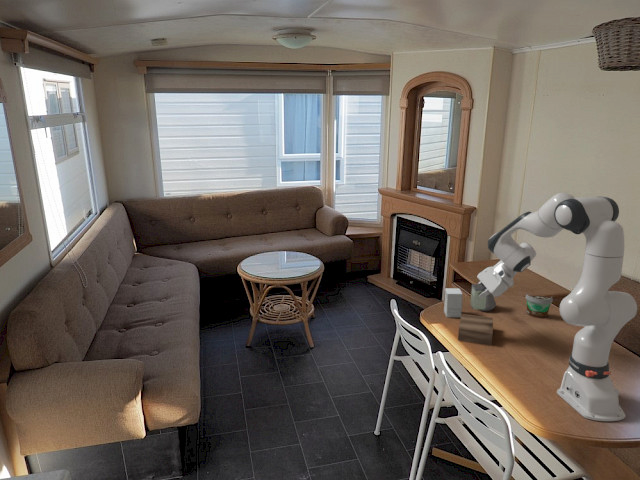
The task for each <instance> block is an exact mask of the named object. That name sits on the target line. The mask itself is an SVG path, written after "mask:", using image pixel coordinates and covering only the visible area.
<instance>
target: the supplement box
mask: <svg viewBox="0 0 640 480" xmlns="http://www.w3.org/2000/svg"><path fill="white" fill-rule="evenodd" d="M463 295H464V294H463V292H462V289H460V288H456V287H454V288H452V287H451V288H450V287H449V288H446V287H445V289H444V304H443V305H444V307H443V313H444V315H445V317H446V318H461V314H462V312H463V311H462V310H463V308H462V307H463Z"/></svg>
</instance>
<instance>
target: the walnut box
mask: <svg viewBox="0 0 640 480" xmlns="http://www.w3.org/2000/svg"><path fill="white" fill-rule="evenodd" d="M493 332H494V318H493V317H487V316H482V315H473V314H467V313H461V317H460V320H459V328H458V335H457V341H460V342H466V343H473V344H480V345H487V346H492V344H493V343H492V341H493V336H494V335H493V334H494V333H493Z"/></svg>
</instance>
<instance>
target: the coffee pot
mask: <svg viewBox="0 0 640 480" xmlns="http://www.w3.org/2000/svg"><path fill="white" fill-rule="evenodd" d="M496 306H497V302H496V300H495V297H494V296H493V295H492V294H491V293H490V294H489V295H487V296H486V307H485V309H477V311H481V312H490V311H491V310H493V309H495V307H496Z"/></svg>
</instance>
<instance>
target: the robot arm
mask: <svg viewBox="0 0 640 480" xmlns="http://www.w3.org/2000/svg"><path fill="white" fill-rule="evenodd" d="M619 214H620V208H619V204H618V203H617V202H616V201H615V200H614V199H613V198H611V197H608V196H581V197H575V196H573V195H572V194H570V193H568V192H558V193H556V194H554V195H553V196H551V197H550V198H549V199H547V201H545V202H544V203H543V205H542V206H540V208H539V209H538V210H536V211H527V212H524V213H523V214H521V215H519V216H517V218H515V219H513V220H512V221H511V222H510V223H508V224H507V225H506V226H505V227H503V228H502V229H500V231H498V232H496V233H494V234H492V235H491V236H490V237H489V238H488V240H487V249H488V250H489V251H490V252H491V253H493V254H494V255H495V256H496V257H497V258H498V259H499V261H498V262H497V263H496V264H494V265H492V266H488V267H486V268H485V269H483V270H482V271H480V272H479V273H478V274H477V276H476V278H477V279H478V280H479V281H478V283H477V284H483V285H484V286H485V287H486V288H487V289H486V290H485V291H484V292H481V293H480V294H479V296H480V297H481V298H483V297H484V296H487V295H489V294H490V293H491V294H492V295H493V297H494V298H498V297H500V296H502V295H503V294H504V293H506V292H507V291H508V289H509V288H512V287H513V286H514V285H515V283H514V277H515V276H517V274H518V273H522V272H524V271H526V269H527V268H528V267H530V266H531V262H533V260H534V258H536V257H537V252H536V250H535V249H534V248H533V246H532V245H531V244H530V243H527V242H525V241H524V242H522V243H520V244H519V243H517V241H516V240H515V239H514V238H513V236H512V235H513V234H515V233H516V232H518V230H523V231H525V232H528V233H530V234H533V235H534V236H536V237H540V238H551V237H552V238H553V237H555V236H556V235H558V234H559V233H560V232H562V230H567V231H569V232H571V233H573V234H575V235H581V234H583V235H584V237H585V248H584V258H583V264H582V272H581V273H580V274H581V275H580V276H579V277H580V278H579V279H578V281H577V283H576V285H575V286H574V288H573V289H572V291H571V292H569V294H568V295H567V296H565V297H564V298H562V300H561V302H560V304H559V307H558V308H559V310H558V311H559V315H560V317H561V318H562V320H563V321H564V323H566V324H568V325H570V326H578V327H583V328H581V329H580V330H578V331H577V332H576V333H575V335H574V338H573V345H572V352H571V353H570V355H569V361H568V367H567V369H566V370H565V372H564V373H563V376H562V377H563V378H562V381H561V385H560V387H559V388H558V389H557V391H556V394H557V395H559V397H561V399H563V400H564V401H565V402H566V403H567V404H568V405H570V407H572V408H573V409H574V410H575V411H577V413H578V414H580V415H581V416H582V417H583V418H585V419H587V420H591V421H597V422H616V421H617V422H618V421H622V420H624V419H625V418H626V413H625V411H624V410H623V409H622V407H621V405H620V403H619V402H620V401H619V396H620V390H619V389H618V388H615V387H614V384H613V379H611V377H610V375H611V372H612V371H610V363H609V359H610V353H611V352H610V351H611V348H612V346H613V345H612V344H613V342H614V341H615V338H616V337H617V335H618V333H619V332H620V331H621V329H622V328H623V327H624V326H625V325H626V324H627V323H628V322H629V321H631V320H632V319H634V318H635V317H636V315H637V312H638V304H637V302H636V300H635V298H634V297H633V296H632V295H631V294H630V293H628V292H624V291H617V290H610V288H611V287H612V286H614V285H615V284H616V283H618V282H619V281H620V279H621V276H622V273H623V263H624V255H625V232H624V227H623V226H622V225H621V223H619V222H617V220H618V218H619V216H620V215H619Z"/></svg>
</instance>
